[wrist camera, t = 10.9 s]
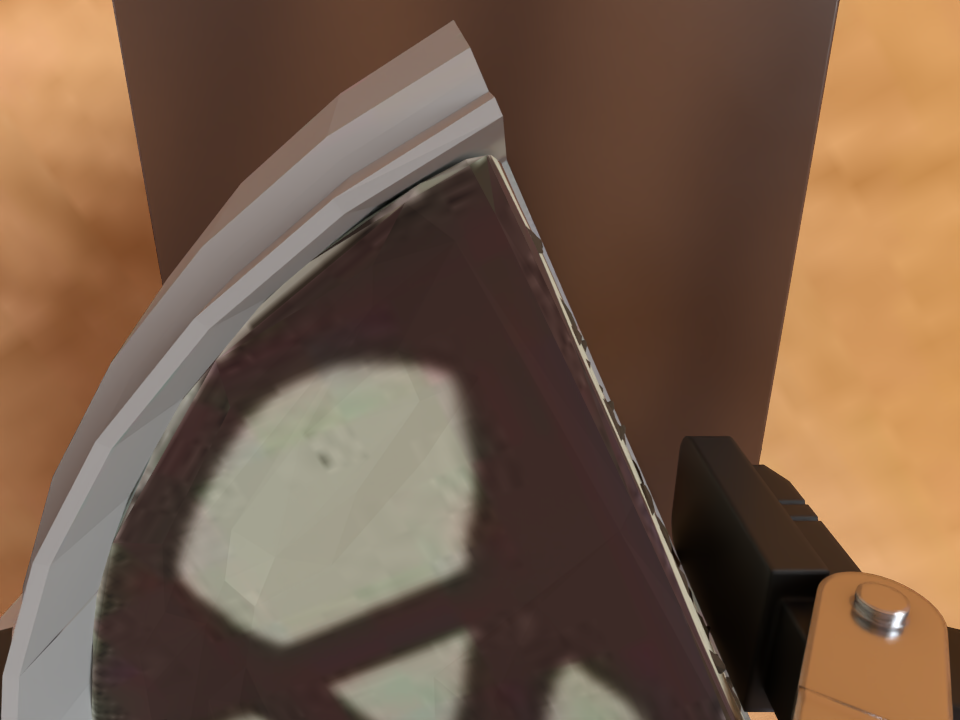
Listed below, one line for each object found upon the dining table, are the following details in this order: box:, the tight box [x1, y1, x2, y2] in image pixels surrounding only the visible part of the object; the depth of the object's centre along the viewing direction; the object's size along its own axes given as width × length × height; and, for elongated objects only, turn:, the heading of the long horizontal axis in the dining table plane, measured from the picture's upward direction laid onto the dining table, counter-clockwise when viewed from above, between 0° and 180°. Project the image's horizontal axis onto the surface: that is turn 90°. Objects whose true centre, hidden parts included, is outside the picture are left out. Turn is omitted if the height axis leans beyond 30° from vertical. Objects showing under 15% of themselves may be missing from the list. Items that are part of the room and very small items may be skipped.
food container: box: [1, 20, 750, 720], centre depth 10 cm, size 12×6×10 cm, turn 25°
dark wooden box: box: [112, 0, 840, 548], centre depth 21 cm, size 13×17×14 cm
